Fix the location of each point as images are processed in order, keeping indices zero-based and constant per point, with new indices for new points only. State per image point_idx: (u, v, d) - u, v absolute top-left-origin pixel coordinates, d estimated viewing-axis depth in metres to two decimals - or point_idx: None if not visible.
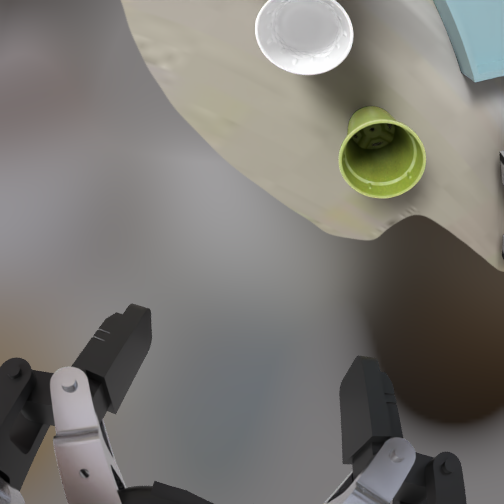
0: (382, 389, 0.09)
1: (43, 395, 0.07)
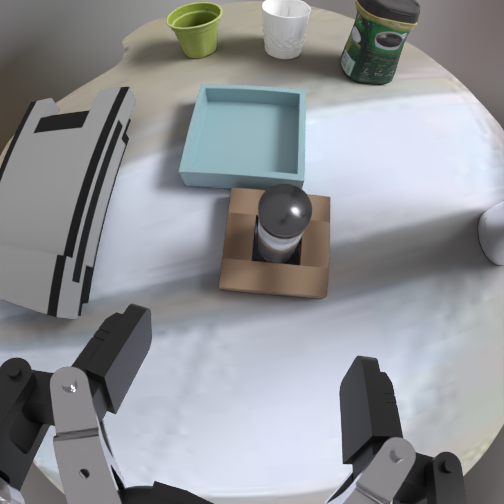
0: (382, 389, 0.09)
1: (43, 395, 0.07)
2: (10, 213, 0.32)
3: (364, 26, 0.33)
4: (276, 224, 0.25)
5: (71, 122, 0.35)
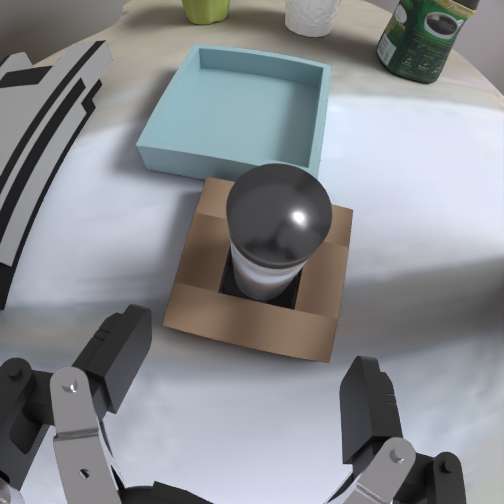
0: (382, 389, 0.09)
1: (43, 395, 0.07)
2: None
3: (412, 3, 0.22)
4: (257, 238, 0.13)
5: (30, 78, 0.23)
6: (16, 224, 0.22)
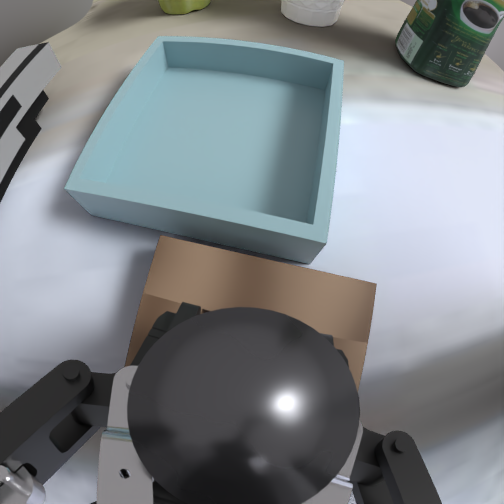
0: None
1: (98, 404, 0.07)
2: None
3: None
4: (194, 481, 0.05)
5: None
6: None
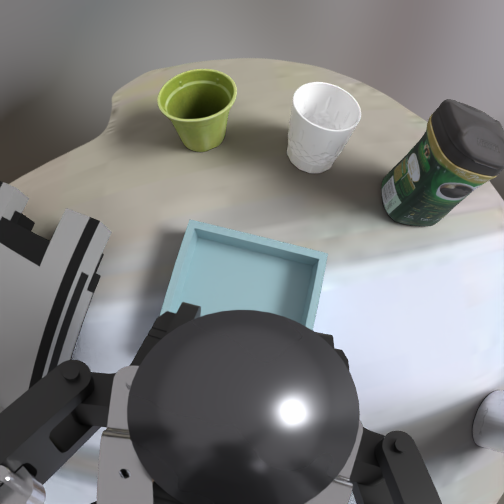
0: None
1: (98, 404, 0.07)
2: None
3: (429, 167, 0.27)
4: (194, 483, 0.05)
5: (30, 250, 0.28)
6: None
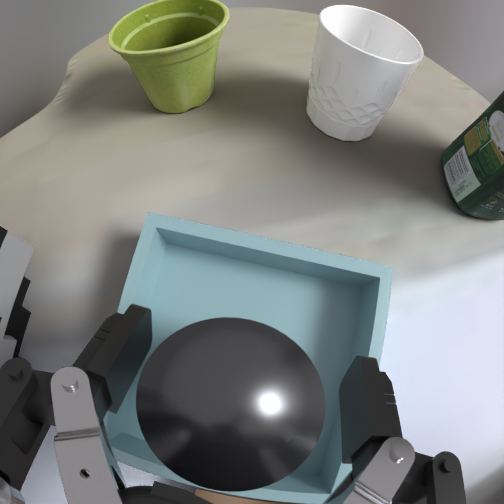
0: (381, 389, 0.09)
1: (44, 395, 0.07)
2: None
3: None
4: (189, 458, 0.06)
5: None
6: None
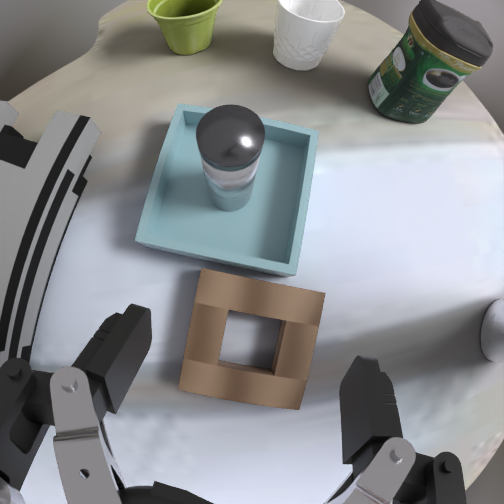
0: (382, 389, 0.09)
1: (43, 395, 0.07)
2: None
3: (414, 54, 0.24)
4: (215, 149, 0.19)
5: (16, 155, 0.24)
6: (30, 315, 0.26)
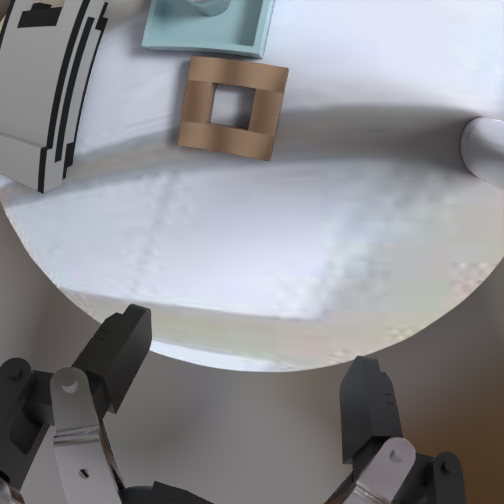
0: (382, 389, 0.09)
1: (43, 395, 0.07)
2: (5, 105, 0.32)
3: None
4: None
5: (47, 19, 0.25)
6: (71, 119, 0.36)
